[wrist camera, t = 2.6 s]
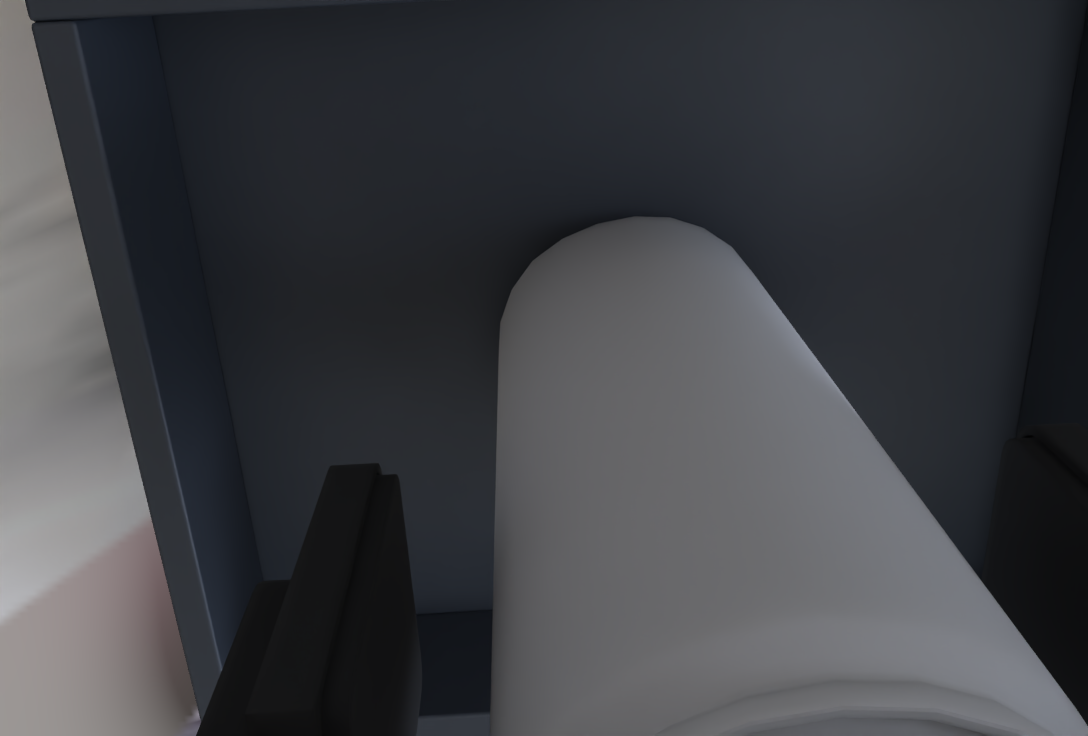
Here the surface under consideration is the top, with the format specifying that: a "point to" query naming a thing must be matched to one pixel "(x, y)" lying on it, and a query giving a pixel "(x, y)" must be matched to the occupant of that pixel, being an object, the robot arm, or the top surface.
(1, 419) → the top surface
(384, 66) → the desk tray
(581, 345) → the beverage can
